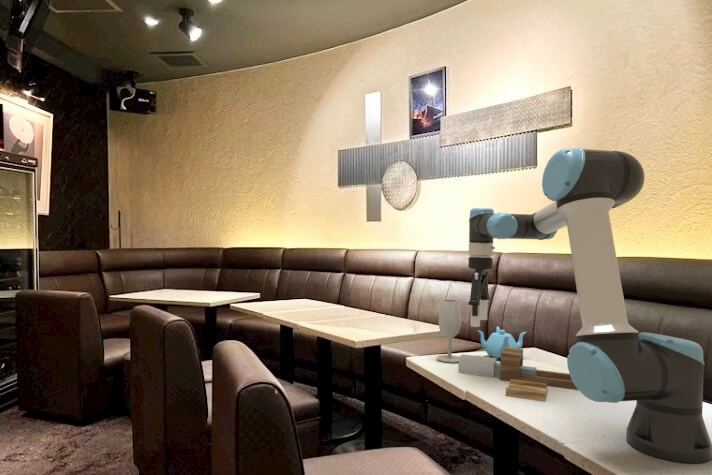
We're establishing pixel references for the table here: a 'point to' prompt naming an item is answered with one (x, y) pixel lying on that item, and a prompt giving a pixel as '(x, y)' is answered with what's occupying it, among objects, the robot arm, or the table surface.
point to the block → (476, 365)
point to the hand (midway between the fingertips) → (479, 323)
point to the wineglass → (449, 325)
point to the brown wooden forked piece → (511, 370)
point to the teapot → (500, 342)
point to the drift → (523, 370)
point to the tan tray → (527, 390)
